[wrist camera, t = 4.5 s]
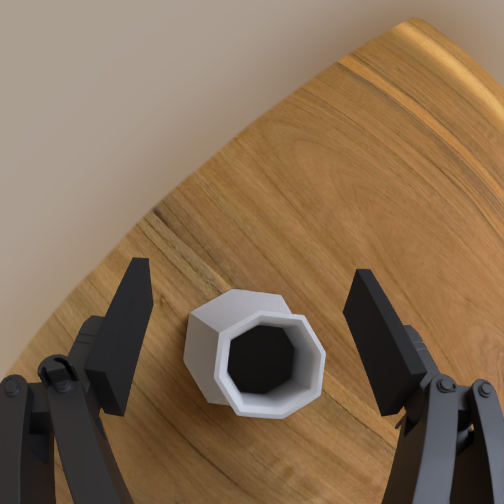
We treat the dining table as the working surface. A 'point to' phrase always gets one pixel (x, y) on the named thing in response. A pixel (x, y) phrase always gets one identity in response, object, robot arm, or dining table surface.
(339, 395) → the dining table surface
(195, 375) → the flask
